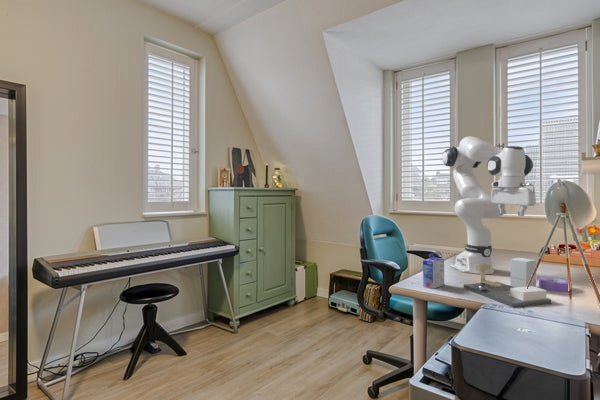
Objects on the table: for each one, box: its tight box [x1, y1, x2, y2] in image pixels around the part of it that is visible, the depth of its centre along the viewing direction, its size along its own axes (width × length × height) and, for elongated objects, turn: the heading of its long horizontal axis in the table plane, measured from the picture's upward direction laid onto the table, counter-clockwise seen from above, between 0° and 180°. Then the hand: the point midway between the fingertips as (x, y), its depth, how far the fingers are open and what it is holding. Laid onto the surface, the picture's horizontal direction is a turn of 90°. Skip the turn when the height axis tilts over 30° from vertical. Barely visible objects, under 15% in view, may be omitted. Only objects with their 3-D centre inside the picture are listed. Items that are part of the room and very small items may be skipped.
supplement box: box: [509, 257, 537, 288], centre depth 153 cm, size 7×7×13 cm
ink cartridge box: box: [422, 252, 445, 290], centre depth 156 cm, size 10×6×14 cm, turn 129°
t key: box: [476, 264, 501, 286], centre depth 142 cm, size 7×8×9 cm
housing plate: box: [463, 281, 552, 308], centre depth 143 cm, size 26×18×3 cm
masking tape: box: [538, 276, 569, 293], centre depth 153 cm, size 12×12×4 cm
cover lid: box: [510, 286, 548, 300], centre depth 136 cm, size 6×11×3 cm, turn 104°
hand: (511, 215), depth 150 cm, fingers open, 8 cm apart
